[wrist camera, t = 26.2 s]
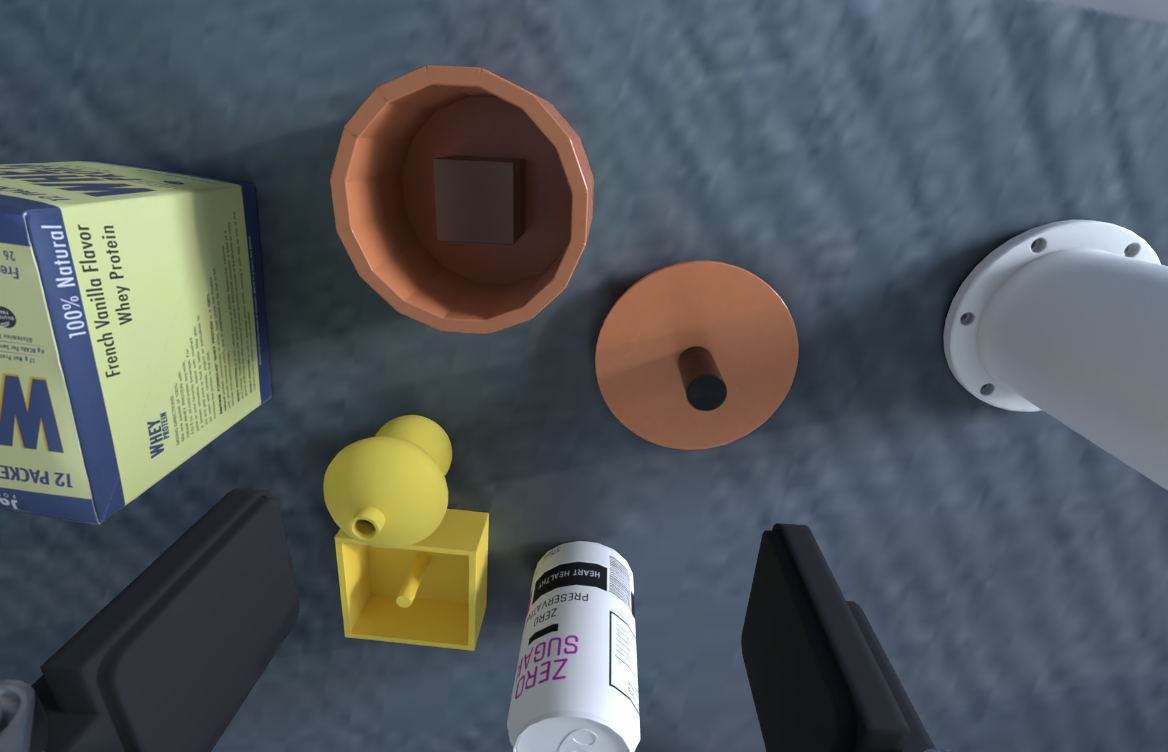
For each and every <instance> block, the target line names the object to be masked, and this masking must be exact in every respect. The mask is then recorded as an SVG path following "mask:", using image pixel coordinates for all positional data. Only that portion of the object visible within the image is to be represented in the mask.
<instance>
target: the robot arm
mask: <svg viewBox="0 0 1168 752" xmlns="http://www.w3.org/2000/svg"><path fill="white" fill-rule="evenodd" d="M943 339H944V353H945V356H946V359H947V363H948V366H949V368H950V370H951V371H952V373H953V375H954V376H955V378H956V380H957V381H958V382H959V383H960V384H961V385H962V386H963V387H964V388H965V389H966V390H967V391H969V392H970V393H971V394H973V395H974V396H975V397H977V398H978V399H980V400H982V401H984V402H986V403H988V404H990V405H992V406H994V407H998V408H1002V409H1006V410H1010V411H1023V412H1033V411H1044V412H1046V413H1047V414H1049V415H1051V416H1052V417H1054V418H1055V419H1057V420H1058V421H1060V422H1061V423H1063V424H1065V425H1066V426H1068V427H1069V428H1071V429H1072V430H1074V431H1076V432H1077V433H1079V434H1080V435H1082V436H1083V437H1085V438H1086V439H1088V440H1090V441H1091V442H1093V443H1094V444H1096V445H1097V446H1099V447H1101V448H1102V449H1104V450H1105V451H1107V452H1108V453H1110V454H1111V455H1113V456H1115V457H1116V458H1118V459H1119V460H1121V461H1122V462H1124V463H1125V464H1127V465H1129V466H1130V467H1132V468H1133V469H1135V470H1136V471H1138V472H1140V473H1141V474H1143V475H1144V476H1146V477H1147V478H1149V479H1150V480H1152V481H1154V482H1155V483H1157V484H1158V485H1160V486H1161V487H1163V488H1165V489H1166V490H1168V266H1164V265H1161V264H1160V261H1159V259H1158V257H1157V254H1156V253H1155V252H1154V251H1153V249H1152V248H1151V247H1150V246H1149V245H1148V243H1147V242H1146V241H1145V240H1143V239H1142V238H1141V237H1139V236H1138V235H1136V234H1135V233H1134V232H1132V231H1130V230H1127V229H1125V228H1122V227H1120V226H1117V225H1115V224H1110V223H1105V222H1099V221H1094V220H1075V219H1073V220H1066V221H1058V222H1052V223H1048V224H1045V225H1042V226H1039V227H1036V228H1032V229H1030V230H1028V231H1026V232H1024V233H1022V234H1019V235H1017V236H1015V237H1013V238H1011V239H1010V240H1008V241H1007V242H1005V243H1004V244H1002V245H1001V246H999V247H998V248H996V249H995V250H993V251H992V252H991V253H990V254H989V255H988V256H987V257H985V258H984V259H983V260H982V261H981V262H980V263H979V264H978V265H977V266H976V267H975V268H974V269H973V270H972V272H971V273H970V274H969V275H968V277H967V278H966V279H965V280H964V282H963V283H962V285H961V286H960V288H959V290H958V292H957V293H956V295H955V297H954V299H953V300H952V303H951V306H950V309H949V311H948V314H947V317H946V322H945V328H944V335H943ZM298 613H299V599H298V594H297V589H296V584H295V579H294V574H293V570H292V565H291V560H290V555H289V550H288V545H287V540H286V535H285V530H284V526H283V521H282V516H281V511H280V506H279V503H278V501H277V500H276V499H272V497H271V495H270V494H269V492H268V491H265V490H251V489H233V490H231V491H230V492H229V493H227V494H226V495H225V496H224V497H223V498H222V499H221V500H220V501H219V502H218V503H217V504H216V505H214V506H213V507H212V508H211V509H210V510H209V511H208V512H207V513H206V514H205V515H204V516H203V517H202V518H200V519H199V520H198V521H197V522H196V523H195V524H194V525H193V526H192V527H191V528H190V529H189V530H187V531H186V532H185V533H184V534H183V535H182V536H181V537H180V538H179V539H178V540H177V541H176V542H175V543H173V544H172V545H171V546H170V547H169V548H168V549H167V550H166V551H165V552H164V553H163V554H162V555H161V556H159V557H158V558H157V559H156V560H155V561H154V562H153V563H152V564H151V565H150V566H149V567H148V568H146V569H145V570H144V571H143V572H142V573H141V574H140V575H139V576H138V577H137V578H136V579H135V580H134V581H132V582H131V583H130V584H129V585H128V586H127V587H126V588H125V589H124V590H123V591H122V592H121V593H120V594H118V595H117V596H116V597H115V598H114V599H113V600H112V601H111V602H110V603H109V604H108V605H107V606H105V607H104V608H103V609H102V610H101V611H100V612H99V613H98V614H97V615H96V616H95V617H94V618H93V619H91V620H90V621H89V622H88V623H87V624H86V625H85V626H84V627H83V628H82V629H81V630H80V631H79V632H77V633H76V634H75V635H74V636H73V637H72V638H71V639H70V640H69V641H68V642H67V643H66V644H64V645H63V646H62V647H61V648H60V649H59V650H58V651H57V652H56V653H55V654H54V655H53V656H52V657H50V658H49V659H48V660H47V661H46V662H45V663H44V664H43V665H42V666H41V667H40V668H41V670H42V672H43V674H44V675H42V676H41V677H40V678H39V679H38V680H37V681H36V682H35V683H34V684H33V685H32V686H30V685H29V684H28V683H26V682H25V681H19V680H13V679H9V680H0V752H211V751H212V749H213V748H214V746H215V745H216V743H217V742H218V740H219V739H220V737H221V735H222V734H223V732H224V731H225V729H226V728H227V726H228V725H229V723H230V722H231V720H232V719H233V717H234V716H235V714H236V713H237V711H238V709H239V708H240V706H241V705H242V703H243V702H244V700H245V699H246V697H247V696H248V694H249V693H250V691H251V690H252V688H253V687H254V685H255V683H256V682H257V680H258V679H259V677H260V676H261V674H262V673H263V671H264V670H265V668H266V667H267V665H268V664H269V662H270V661H271V659H272V657H273V656H274V654H275V653H276V651H277V650H278V648H279V647H280V645H281V644H282V642H283V641H284V639H285V638H286V636H287V634H288V633H289V631H290V630H291V628H292V627H293V625H294V624H295V622H296V619H297V617H298ZM741 644H742V654H743V659H744V663H745V667H746V671H747V675H748V679H749V683H750V687H751V691H752V695H753V699H754V703H755V707H756V711H757V715H758V719H759V723H760V727H761V731H762V735H763V739H764V743H765V747H766V751H767V752H953V751H949V750H946V749H935V747H934V745H933V743H932V741H931V739H930V738H929V736H928V734H927V732H926V730H925V728H924V726H923V724H922V722H921V720H920V719H919V717H918V715H917V713H916V711H915V709H914V707H913V705H912V703H911V701H910V699H909V698H908V696H907V694H906V692H905V690H904V688H903V686H902V684H901V682H900V680H899V679H898V677H897V675H896V673H895V671H894V669H893V667H892V665H891V663H890V661H889V659H888V658H887V656H886V654H885V652H884V650H883V648H882V646H881V644H880V642H879V640H878V639H877V637H876V635H875V633H874V631H873V629H872V627H871V625H870V623H869V621H868V619H867V618H866V616H865V614H864V612H863V611H862V609H861V608H860V606H859V605H858V604H856V603H855V602H853V601H846V600H845V598H844V596H843V594H842V592H841V590H840V588H839V586H838V584H837V582H836V580H835V578H834V576H833V574H832V572H831V570H830V568H829V566H828V564H827V562H826V560H825V558H824V556H823V554H822V552H821V550H820V548H819V546H818V544H817V542H816V540H815V538H814V536H813V534H812V532H811V530H810V529H809V527H808V526H806V525H793V524H778V523H777V524H775V525H774V527H773V529H772V531H764V533H763V535H762V539H761V544H760V549H759V554H758V559H757V564H756V568H755V573H754V578H753V583H752V588H751V593H750V598H749V602H748V607H747V612H746V617H745V622H744V627H743V631H742V640H741Z"/></svg>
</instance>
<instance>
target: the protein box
mask: <svg viewBox="0 0 1168 752" xmlns="http://www.w3.org/2000/svg"><path fill="white" fill-rule="evenodd" d="M271 396H272V389H271V377H270V364H269V350H268V337H267V324H266V312H265V299H264V287H263V275H262V263H261V252H260V239H259V227H258V214H257V202H256V191H255V185H254V184H252V183H245V182H239V181H232V180H226V179H219V178H213V177H206V176H200V175H195V174H188V173H181V172H174V171H168V170H161V169H154V168H147V167H141V166H134V165H127V164H120V163H114V162H107V161H100V160H93V161H71V162H51V163H28V164H3V165H0V509H3V510H9V511H16V512H22V513H29V514H35V515H41V516H46V517H52V518H57V519H63V520H68V521H75V522H82V523H89V524H101V523H103V522H104V521H105V520H107V519H108V518H109V517H111V516H112V515H113V514H115V513H116V512H118V511H119V510H120V509H122V508H123V507H124V506H126V505H127V504H128V503H130V502H131V501H132V500H134V499H136V498H137V497H138V496H139V495H141V494H142V493H143V492H145V491H146V490H147V489H149V488H150V487H151V486H153V485H154V484H155V483H157V482H158V481H159V480H161V479H162V478H163V477H165V476H166V475H167V474H169V473H170V472H171V471H173V470H174V469H175V468H177V467H178V466H179V465H181V464H182V463H183V462H185V461H186V460H187V459H189V458H190V457H191V456H193V455H194V454H195V453H197V452H198V451H199V450H201V449H202V448H203V447H205V446H206V445H207V444H209V443H210V442H211V441H213V440H214V439H216V438H217V437H218V436H219V435H221V434H222V433H223V432H225V431H226V430H228V429H229V428H230V427H231V426H233V425H234V424H235V423H237V422H238V421H239V420H241V419H242V418H244V417H245V416H246V415H248V414H249V413H250V412H251V411H253V410H254V409H256V408H257V407H259V406H260V405H262V404H263V403H265V402H266V401H267V400H269V399H270V398H271Z"/></svg>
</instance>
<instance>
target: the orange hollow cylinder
mask: <svg viewBox="0 0 1168 752" xmlns="http://www.w3.org/2000/svg"><path fill="white" fill-rule="evenodd" d="M454 155H456V156H476V157H497V158H518V159H525V233H524V234H523V235H522V237H521V238H520V239H519V240H518V241H517V242H516V243H515V244H514V245H503V244H484V243H465V242H446V241H437V229H436V212H435V195H434V178H433V161H432V159H433V158H438V157H446V156H454ZM330 185H331V193H332V201H333V208H334V216H335V224H336V230H337V233H338V235H339V237H340V239H341V241H342V243H343V245H344V247H345V249H346V251H347V253H348V255H349V257H350V258H351V260H352V262H353V264H354V266H355V268H356V270H357V272H358V274H359V276H360V277H361V278H362V279H363V280H364V281H365V282H366V283H367V284H368V285H369V286H370V287H371V288H373V289H374V290H375V291H376V292H377V293H378V294H379V295H380V296H381V297H382V298H383V299H384V300H385V301H386V302H387V303H388V304H389V305H390V306H392V307H393V308H394V309H395V310H396V311H398V313H401V314H403V315H405V316H407V317H410V318H412V319H414V320H416V321H419V322H421V323H423V324H425V325H428V326H430V327H432V328H434V329H437V330H439V331H443V332H458V333H476V334H490V333H493V332H496V331H499V330H502V329H505V328H508V327H510V326H513V325H516V324H519V323H522V322H525V321H528V320H530V319H532V318H533V317H534V316H536V315H537V314H538V313H539V312H540V311H541V310H542V309H543V308H544V307H546V306H547V305H548V304H549V303H550V302H551V301H552V300H553V299H554V298H556V297H557V296H558V295H559V294H560V293H561V292H562V291H563V290H564V289H565V288H566V287H567V284H568V282H569V280H570V278H571V276H572V274H573V271H574V269H575V267H576V265H577V263H578V261H579V259H580V256H581V254H582V252H583V250H584V248H585V246H586V242H587V238H588V234H589V230H590V226H591V222H592V208H593V187H594V180H593V175H592V172H591V170H590V167H589V163H588V159H587V157H586V154H585V152H584V149H583V146H582V143H581V140H580V138H579V136H578V135H577V134H576V132H575V131H574V130H573V129H572V128H571V127H570V125H569V124H568V123H567V121H566V120H565V119H564V118H563V117H562V116H561V115H560V114H559V112H558V111H557V110H556V109H555V108H554V106H553V105H552V104H551V103H549V102H548V101H546V100H544V99H542V98H540V97H538V96H536V95H534V94H533V93H531V92H529V91H527V90H525V89H523V88H521V87H519V86H517V85H515V84H513V83H511V82H509V81H507V80H505V79H503V78H501V77H499V76H497V75H495V74H493V73H491V72H489V71H487V70H485V69H484V68H480V67H461V66H438V65H427V66H422V67H420V68H418V69H415V70H413V71H411V72H409V73H406V74H404V75H402V76H400V77H397V78H395V79H393V80H391V81H388V82H386V83H384V84H382V85H379V86H378V87H376V88H375V89H374V91H373V92H372V93H371V94H370V95H369V97H368V98H367V99H366V100H365V101H364V103H363V104H362V105H361V106H360V108H359V109H358V110H357V111H356V112H355V114H354V115H353V116H352V117H351V118H350V120H349V121H348V122H347V123H346V125H345V126H344V129H343V131H342V135H341V139H340V143H339V146H338V150H337V154H336V158H335V162H334V165H333V169H332V173H331V179H330Z"/></svg>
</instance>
